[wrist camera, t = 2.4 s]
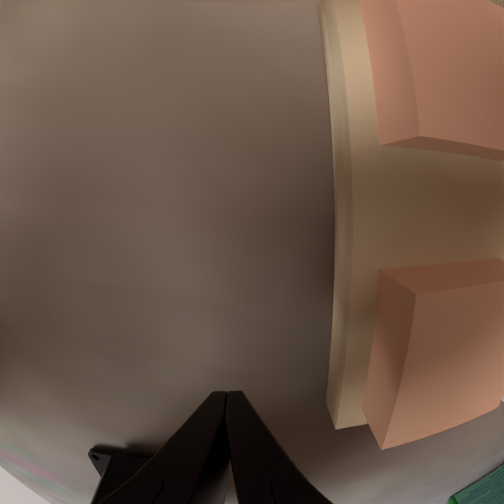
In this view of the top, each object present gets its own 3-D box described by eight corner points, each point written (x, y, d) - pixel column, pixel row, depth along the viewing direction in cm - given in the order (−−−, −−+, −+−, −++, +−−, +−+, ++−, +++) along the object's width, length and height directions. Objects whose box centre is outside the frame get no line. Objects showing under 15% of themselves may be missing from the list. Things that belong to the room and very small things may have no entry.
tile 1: (470, 379, 11) (498, 407, 9) (361, 409, 11) (380, 450, 8) (497, 258, 10) (538, 274, 7) (379, 269, 10) (416, 294, 7)
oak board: (482, 364, 13) (501, 380, 11) (325, 401, 13) (335, 429, 11) (489, 43, 9) (512, 34, 7) (315, -3, 9) (326, -29, 7)
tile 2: (500, 161, 9) (544, 161, 6) (379, 145, 9) (419, 135, 6) (478, 31, 8) (512, 13, 5) (356, -7, 7) (381, -43, 5)
